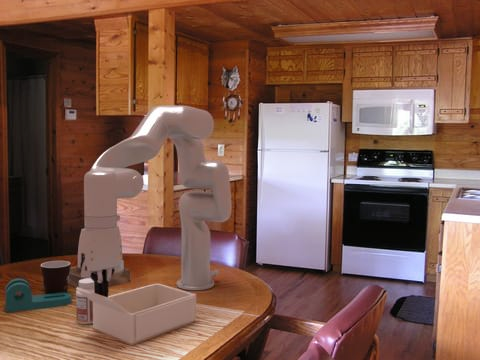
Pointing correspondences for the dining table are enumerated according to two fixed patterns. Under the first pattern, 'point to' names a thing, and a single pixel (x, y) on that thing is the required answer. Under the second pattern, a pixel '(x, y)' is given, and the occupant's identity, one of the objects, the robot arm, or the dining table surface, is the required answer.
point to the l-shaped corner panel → (121, 267)
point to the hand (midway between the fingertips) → (101, 296)
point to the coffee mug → (55, 276)
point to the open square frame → (115, 279)
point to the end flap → (102, 300)
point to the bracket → (31, 297)
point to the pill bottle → (84, 302)
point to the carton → (145, 313)
